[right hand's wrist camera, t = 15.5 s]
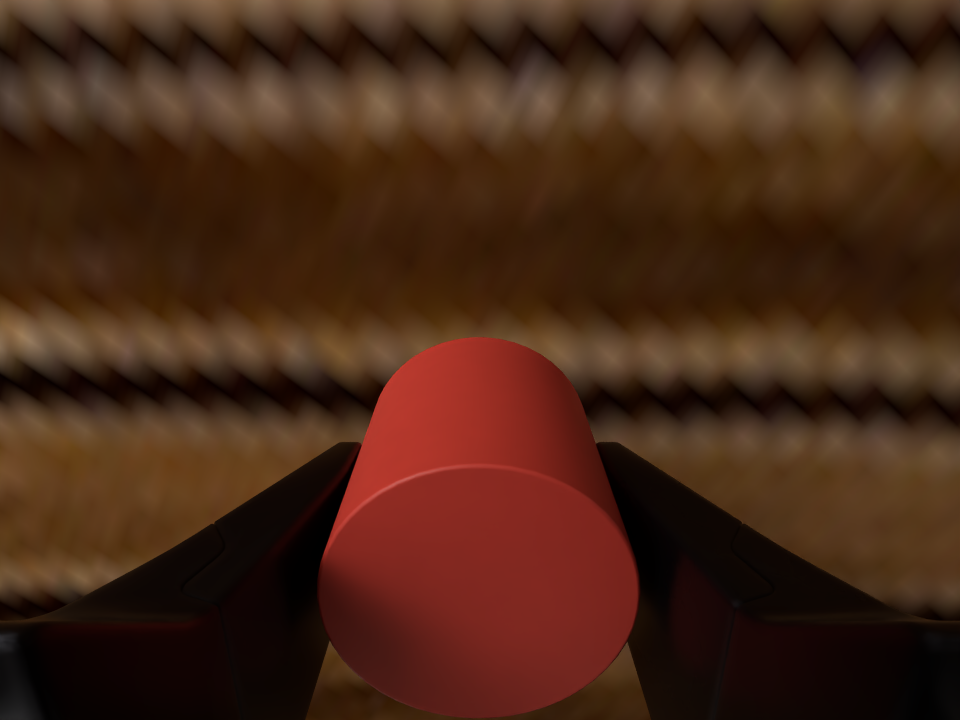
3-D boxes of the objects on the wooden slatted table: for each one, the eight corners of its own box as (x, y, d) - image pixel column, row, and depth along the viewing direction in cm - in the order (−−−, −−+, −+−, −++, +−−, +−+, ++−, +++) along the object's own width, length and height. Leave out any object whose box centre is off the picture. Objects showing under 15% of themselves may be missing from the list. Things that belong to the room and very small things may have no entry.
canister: (341, 480, 13) (273, 662, 8) (423, 299, 11) (388, 412, 7) (525, 551, 13) (547, 754, 9) (625, 390, 12) (704, 541, 8)
